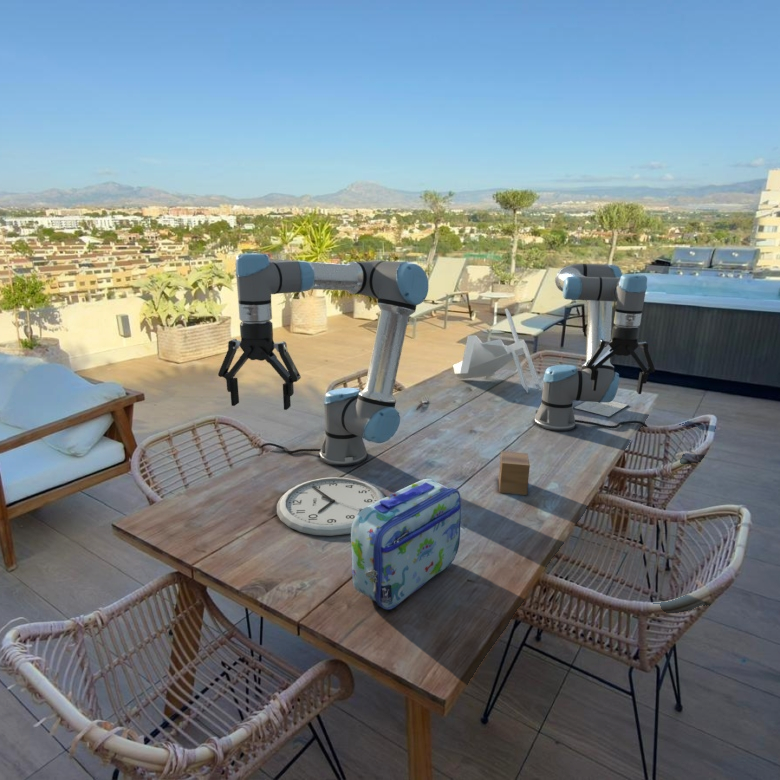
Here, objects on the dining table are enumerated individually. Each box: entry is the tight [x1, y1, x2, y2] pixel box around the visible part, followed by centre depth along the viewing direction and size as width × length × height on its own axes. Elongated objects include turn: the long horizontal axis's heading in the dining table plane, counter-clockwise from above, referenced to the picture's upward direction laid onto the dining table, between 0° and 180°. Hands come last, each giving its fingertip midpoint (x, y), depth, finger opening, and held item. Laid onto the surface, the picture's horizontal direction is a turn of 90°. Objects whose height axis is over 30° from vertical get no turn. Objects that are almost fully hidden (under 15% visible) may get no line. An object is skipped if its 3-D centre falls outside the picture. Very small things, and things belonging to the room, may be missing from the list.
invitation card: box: [573, 400, 629, 418], centre depth 226 cm, size 21×1×15 cm
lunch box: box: [350, 478, 462, 611], centre depth 110 cm, size 26×11×21 cm, turn 135°
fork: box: [415, 395, 430, 410], centre depth 224 cm, size 3×16×2 cm, turn 160°
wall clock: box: [276, 476, 386, 537], centre depth 142 cm, size 30×2×30 cm
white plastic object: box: [452, 307, 542, 394], centre depth 254 cm, size 37×45×31 cm
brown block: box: [498, 450, 531, 496], centre depth 153 cm, size 8×8×9 cm
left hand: (261, 406), depth 130 cm, fingers open, 13 cm apart
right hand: (616, 391), depth 168 cm, fingers open, 13 cm apart
